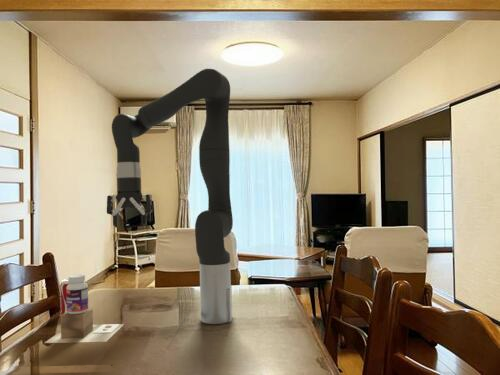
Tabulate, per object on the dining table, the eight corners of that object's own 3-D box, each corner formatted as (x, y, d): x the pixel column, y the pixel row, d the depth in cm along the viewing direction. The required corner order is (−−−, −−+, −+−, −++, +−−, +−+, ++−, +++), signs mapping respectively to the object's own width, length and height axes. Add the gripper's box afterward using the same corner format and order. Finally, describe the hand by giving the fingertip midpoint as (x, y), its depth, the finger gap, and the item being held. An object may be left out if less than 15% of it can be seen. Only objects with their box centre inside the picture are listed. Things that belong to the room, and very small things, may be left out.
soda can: (72, 321, 127) (71, 282, 127) (57, 320, 128) (56, 282, 129) (82, 316, 132) (81, 278, 133) (67, 315, 133) (66, 278, 134)
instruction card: (120, 324, 118) (120, 323, 118) (111, 333, 111) (111, 331, 111) (102, 325, 119) (102, 324, 119) (92, 333, 112) (93, 332, 112)
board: (124, 328, 119) (124, 324, 119) (106, 346, 105) (106, 341, 105) (69, 329, 119) (69, 325, 119) (44, 347, 105) (43, 342, 105)
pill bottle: (62, 314, 109) (61, 277, 109) (75, 308, 115) (74, 273, 115) (80, 315, 108) (79, 278, 108) (92, 309, 113) (91, 274, 113)
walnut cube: (93, 330, 114) (92, 308, 114) (83, 338, 108) (83, 315, 108) (71, 330, 114) (70, 309, 114) (61, 338, 108) (60, 315, 108)
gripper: (153, 176, 137) (155, 225, 137) (111, 177, 137) (112, 226, 137) (147, 175, 130) (148, 227, 129) (102, 177, 130) (103, 228, 130)
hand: (130, 226), depth 133 cm, fingers open, 8 cm apart
